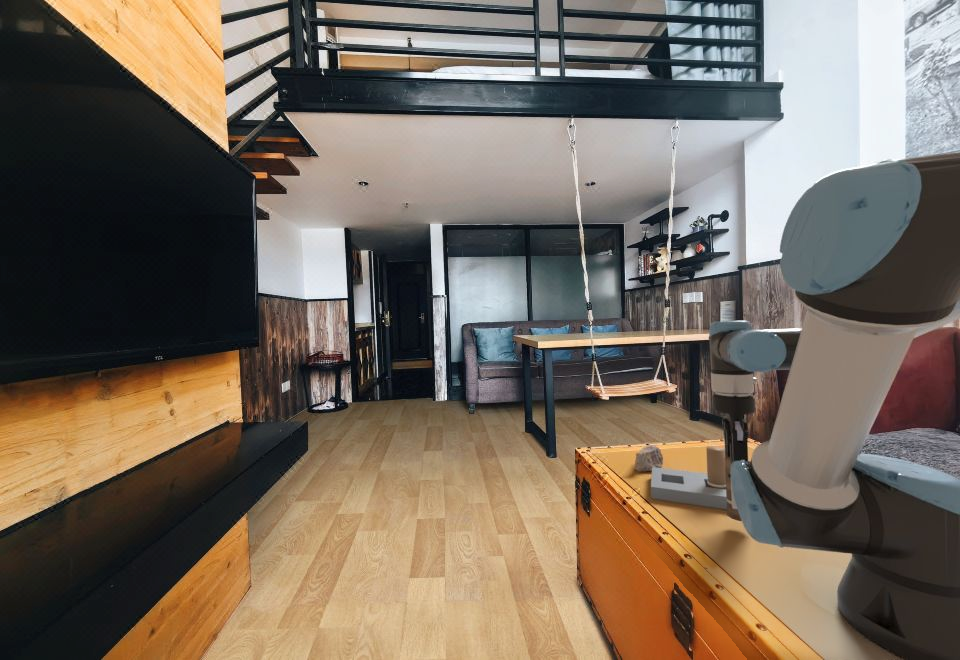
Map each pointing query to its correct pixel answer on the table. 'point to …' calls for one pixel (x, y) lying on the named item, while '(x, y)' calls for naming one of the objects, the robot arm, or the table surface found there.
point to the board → (693, 483)
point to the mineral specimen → (648, 459)
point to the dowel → (730, 511)
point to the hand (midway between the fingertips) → (738, 503)
